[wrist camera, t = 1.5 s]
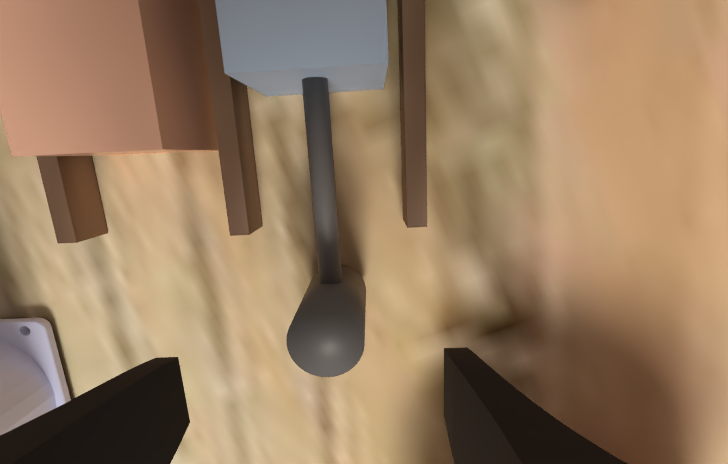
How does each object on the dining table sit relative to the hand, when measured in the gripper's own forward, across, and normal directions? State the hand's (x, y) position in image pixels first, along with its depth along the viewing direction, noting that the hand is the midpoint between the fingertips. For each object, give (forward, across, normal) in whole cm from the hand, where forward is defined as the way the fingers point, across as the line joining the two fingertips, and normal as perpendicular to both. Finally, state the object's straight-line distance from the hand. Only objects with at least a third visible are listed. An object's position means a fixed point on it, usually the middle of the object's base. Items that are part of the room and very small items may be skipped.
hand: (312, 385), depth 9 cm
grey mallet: (+8, 0, -7) cm, 10 cm away
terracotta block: (+8, +7, -10) cm, 15 cm away
